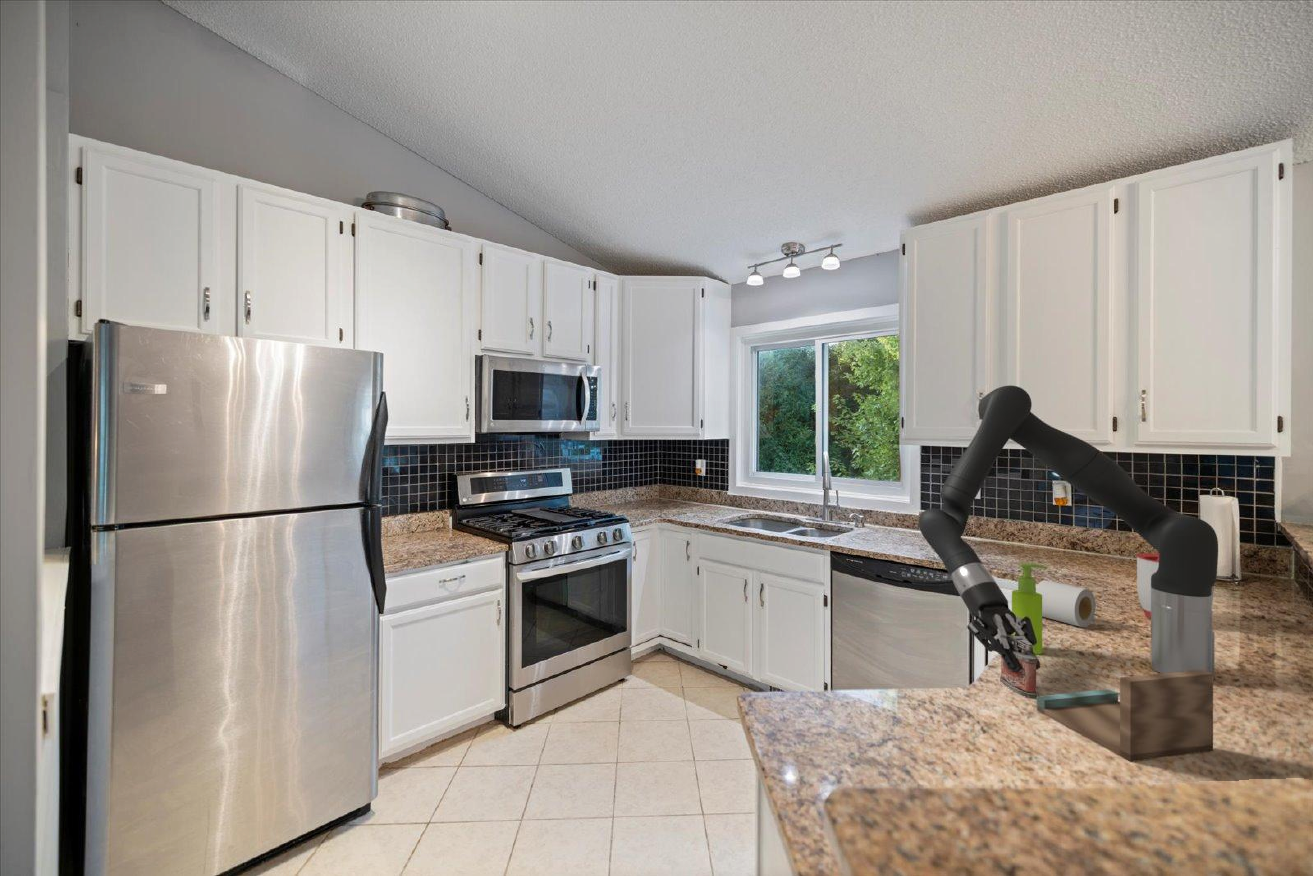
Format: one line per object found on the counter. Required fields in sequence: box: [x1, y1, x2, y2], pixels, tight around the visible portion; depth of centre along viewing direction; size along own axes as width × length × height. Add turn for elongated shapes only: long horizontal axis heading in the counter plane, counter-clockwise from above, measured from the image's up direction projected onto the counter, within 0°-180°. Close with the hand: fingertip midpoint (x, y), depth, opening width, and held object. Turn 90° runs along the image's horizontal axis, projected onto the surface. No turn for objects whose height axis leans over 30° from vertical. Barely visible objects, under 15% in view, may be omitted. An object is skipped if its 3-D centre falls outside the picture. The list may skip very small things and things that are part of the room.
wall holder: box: [1036, 670, 1214, 763], centre depth 92 cm, size 16×16×12 cm
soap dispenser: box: [1011, 562, 1049, 655], centre depth 127 cm, size 6×7×20 cm
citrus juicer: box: [1135, 552, 1214, 619], centre depth 148 cm, size 16×17×20 cm
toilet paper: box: [1036, 579, 1097, 628], centre depth 148 cm, size 10×10×10 cm
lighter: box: [999, 634, 1038, 699], centre depth 107 cm, size 8×3×10 cm, turn 5°
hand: (1026, 669), depth 105 cm, fingers closed on lighter, 3 cm apart
